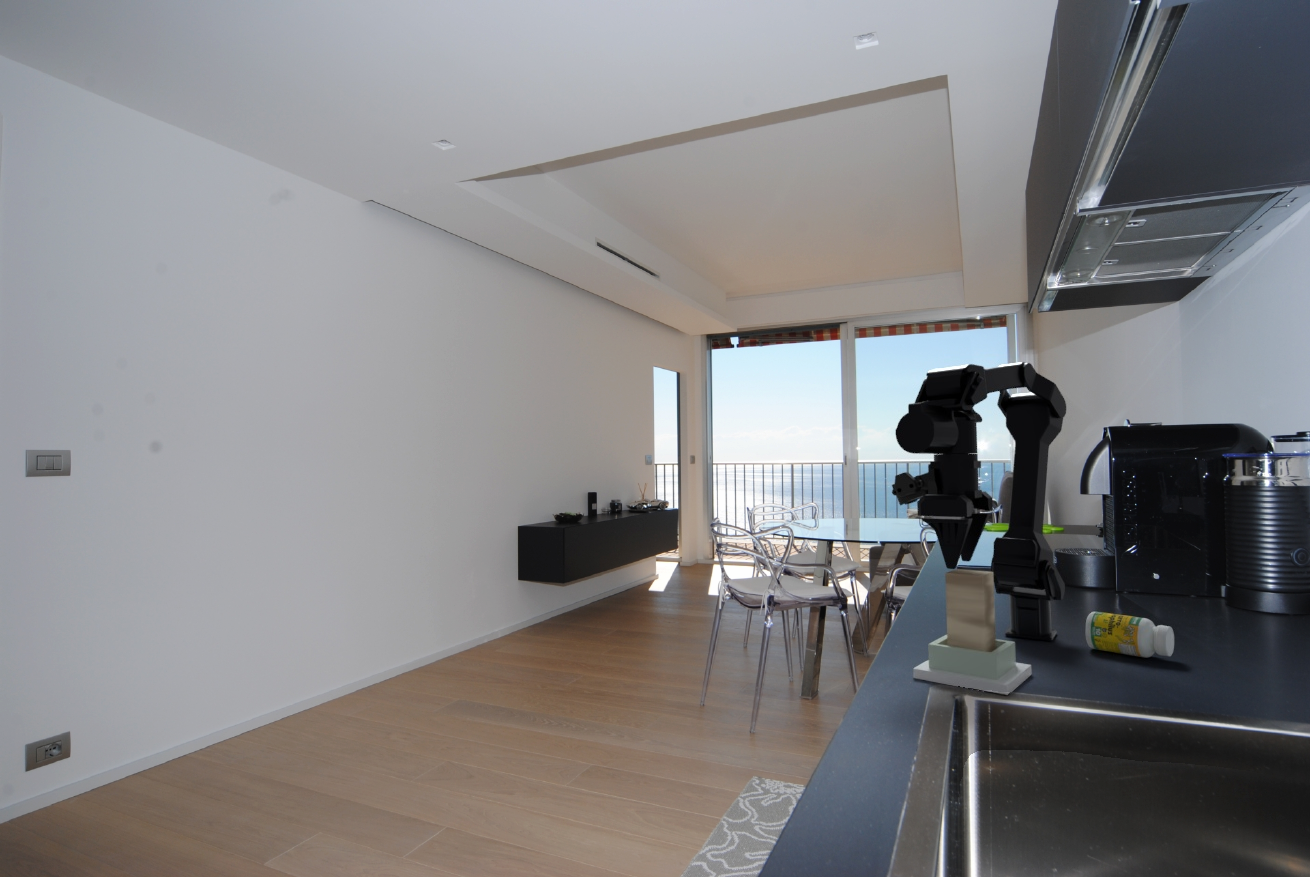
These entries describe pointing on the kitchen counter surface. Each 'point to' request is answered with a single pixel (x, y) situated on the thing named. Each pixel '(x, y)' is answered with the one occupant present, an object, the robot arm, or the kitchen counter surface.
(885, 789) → the kitchen counter surface
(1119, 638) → the supplement bottle
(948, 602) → the brown box
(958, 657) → the caddy
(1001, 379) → the robot arm
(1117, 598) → the kitchen counter surface
